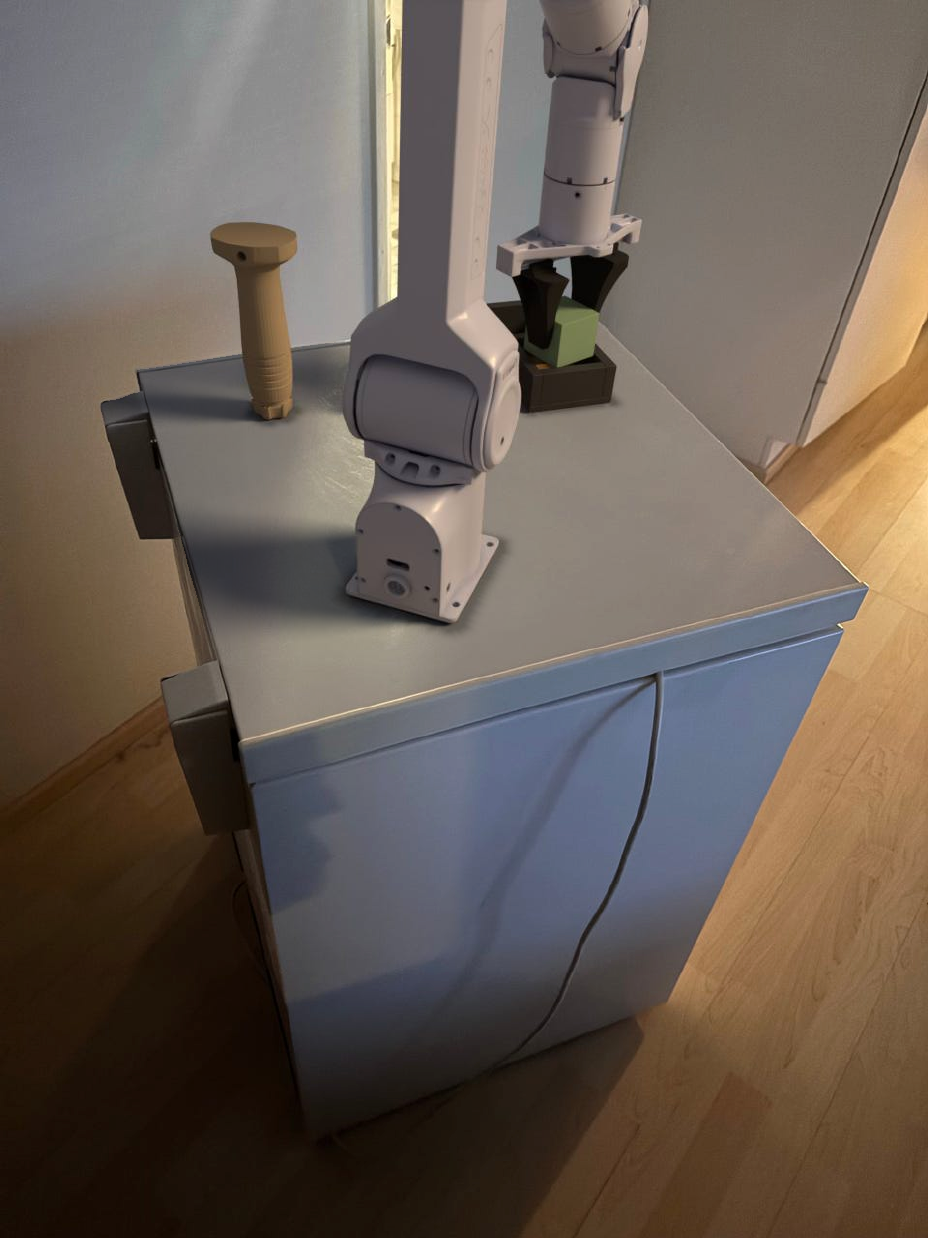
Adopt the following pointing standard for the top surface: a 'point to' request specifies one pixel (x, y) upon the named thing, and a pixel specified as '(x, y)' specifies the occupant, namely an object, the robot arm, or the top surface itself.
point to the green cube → (569, 335)
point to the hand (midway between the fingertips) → (559, 337)
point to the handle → (261, 308)
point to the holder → (556, 371)
